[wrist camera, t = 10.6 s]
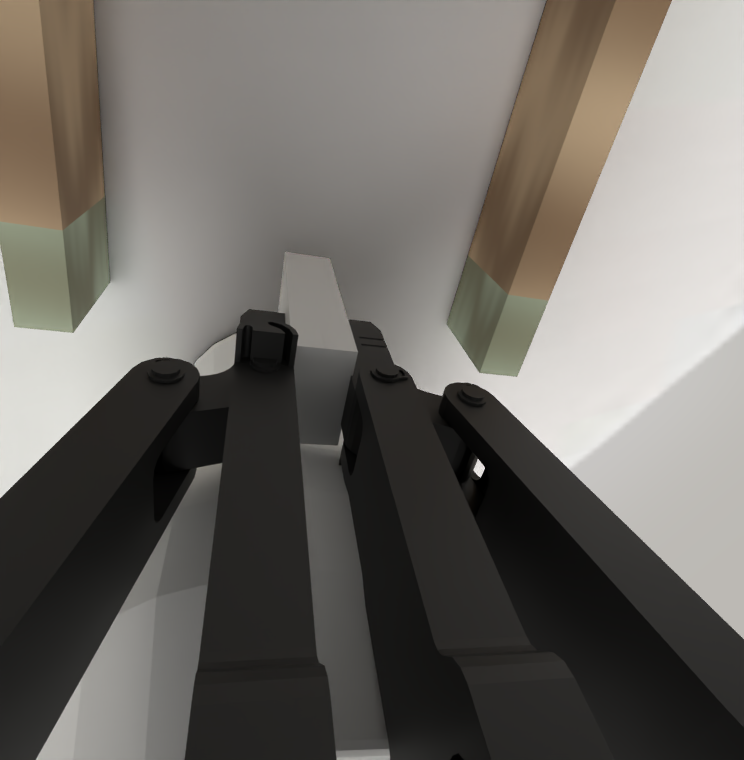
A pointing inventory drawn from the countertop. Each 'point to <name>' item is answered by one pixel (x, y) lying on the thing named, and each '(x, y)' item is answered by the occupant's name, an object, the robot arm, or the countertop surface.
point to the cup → (186, 615)
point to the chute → (496, 223)
